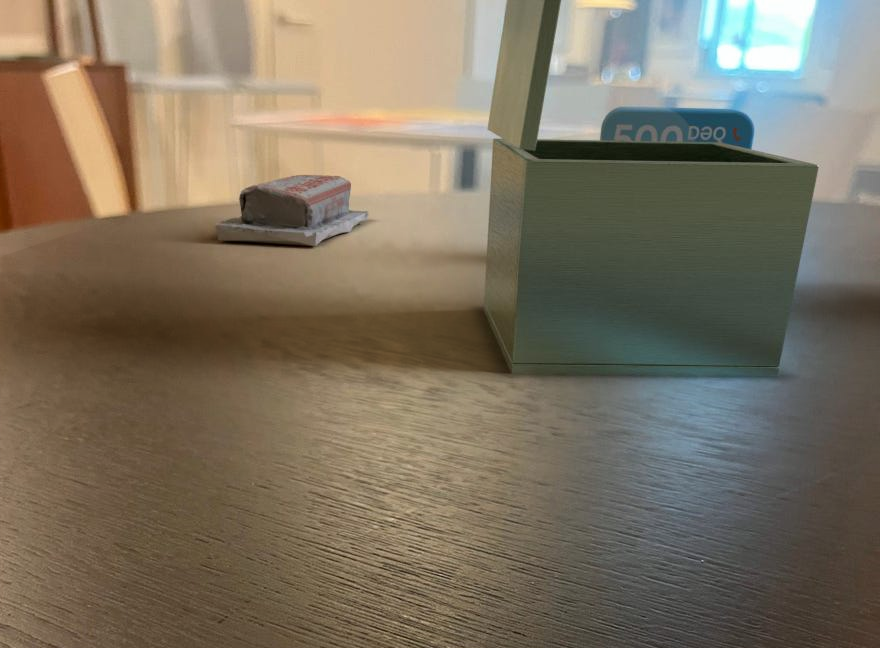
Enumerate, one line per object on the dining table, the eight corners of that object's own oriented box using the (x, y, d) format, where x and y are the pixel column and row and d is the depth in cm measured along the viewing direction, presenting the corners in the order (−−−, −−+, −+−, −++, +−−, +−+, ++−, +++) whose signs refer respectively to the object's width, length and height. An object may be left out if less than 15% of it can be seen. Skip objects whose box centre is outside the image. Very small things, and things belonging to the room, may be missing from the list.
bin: (694, 316, 70) (721, 142, 65) (776, 381, 56) (819, 164, 50) (483, 313, 70) (493, 138, 65) (511, 378, 55) (526, 160, 50)
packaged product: (278, 169, 108) (369, 173, 106) (280, 219, 110) (368, 223, 108) (211, 186, 92) (315, 191, 91) (214, 242, 95) (316, 248, 93)
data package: (589, 264, 88) (605, 107, 82) (588, 256, 92) (603, 105, 86) (731, 270, 87) (758, 111, 81) (724, 261, 90) (749, 109, 85)
